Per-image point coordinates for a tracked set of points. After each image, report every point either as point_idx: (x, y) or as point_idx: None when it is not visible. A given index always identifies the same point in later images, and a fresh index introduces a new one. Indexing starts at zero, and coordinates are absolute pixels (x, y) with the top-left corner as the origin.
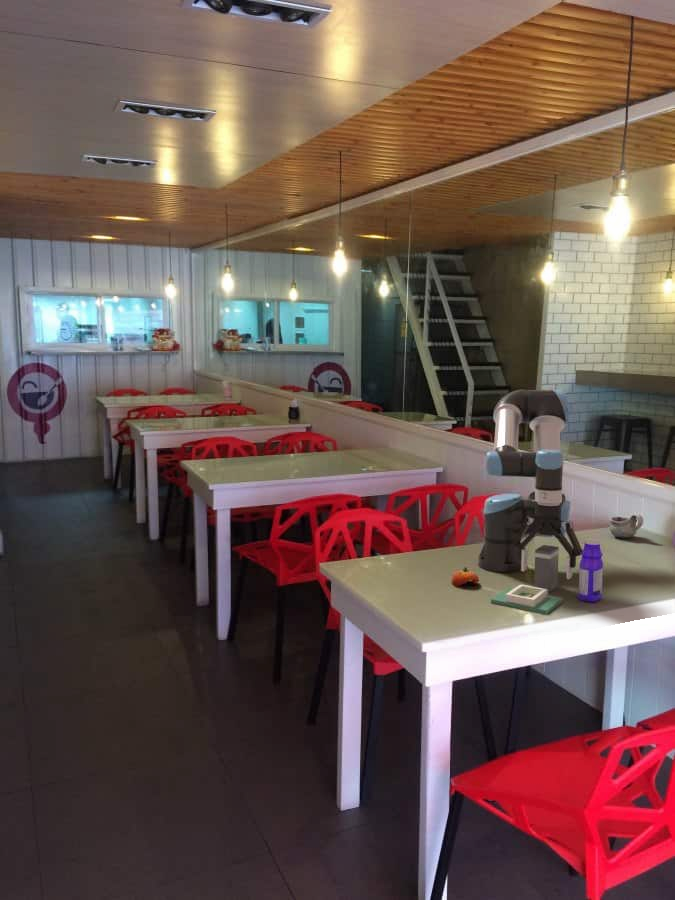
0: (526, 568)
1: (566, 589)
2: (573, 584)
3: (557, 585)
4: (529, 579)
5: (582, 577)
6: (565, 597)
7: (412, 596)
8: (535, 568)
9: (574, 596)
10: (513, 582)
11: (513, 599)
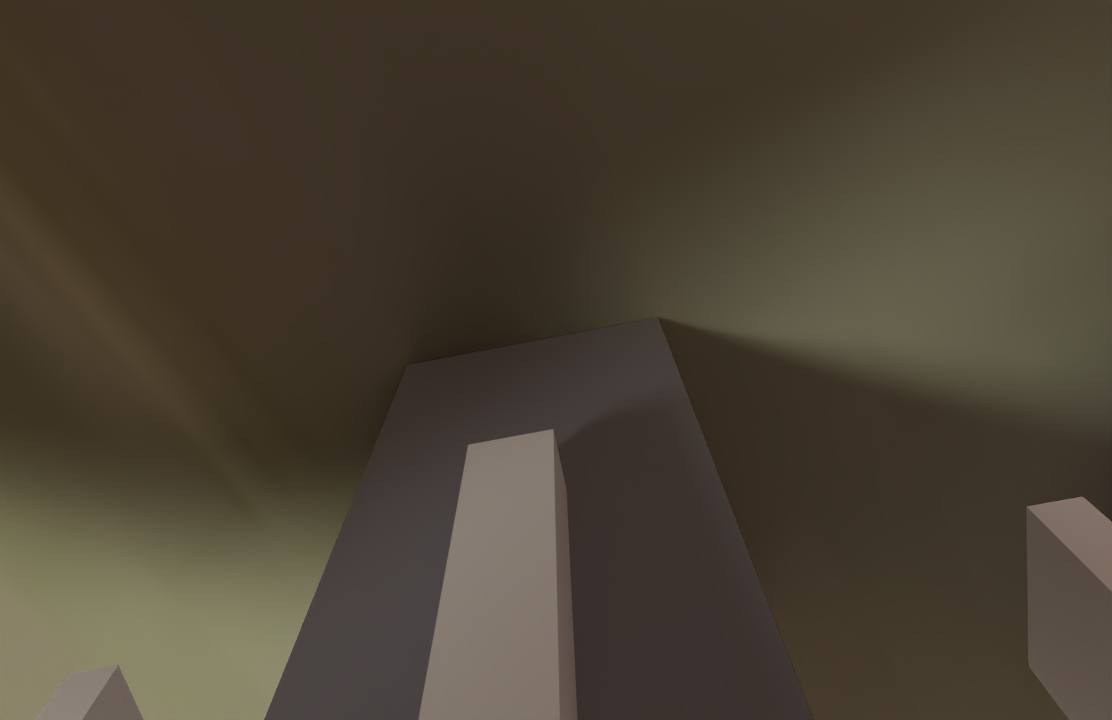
0: (119, 710)
1: (844, 356)
2: (824, 15)
3: (661, 329)
4: (112, 327)
5: None
6: (975, 655)
7: None
8: None
9: None
10: (75, 614)
11: None
